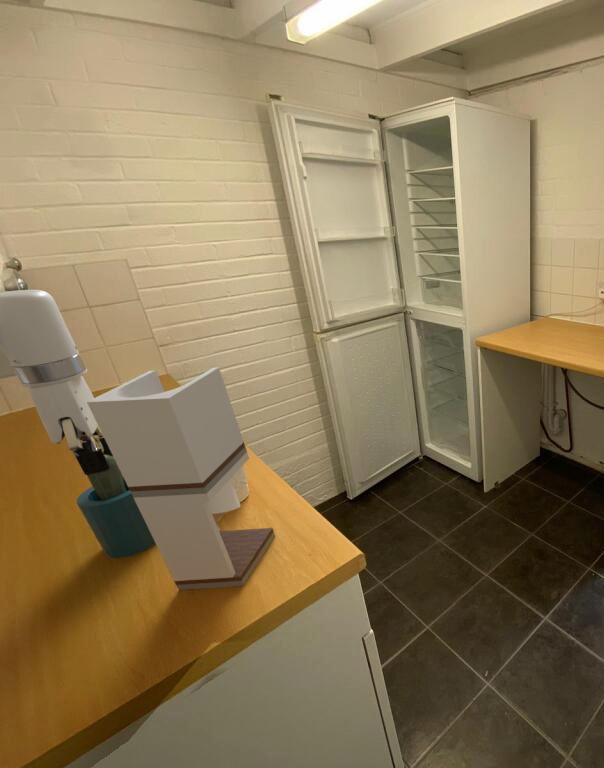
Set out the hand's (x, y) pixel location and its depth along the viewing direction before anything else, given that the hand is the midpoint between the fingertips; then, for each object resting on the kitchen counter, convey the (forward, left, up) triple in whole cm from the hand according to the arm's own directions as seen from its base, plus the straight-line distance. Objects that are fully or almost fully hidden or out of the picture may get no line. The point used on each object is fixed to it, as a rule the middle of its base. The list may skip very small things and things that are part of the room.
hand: (100, 464), depth 74 cm
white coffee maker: (+17, -15, -17) cm, 29 cm away
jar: (0, 0, -17) cm, 17 cm away
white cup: (+15, +6, -17) cm, 24 cm away
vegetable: (0, 0, -15) cm, 15 cm away
